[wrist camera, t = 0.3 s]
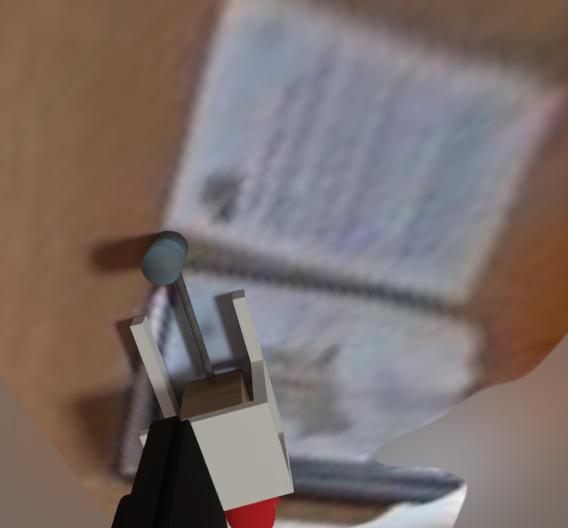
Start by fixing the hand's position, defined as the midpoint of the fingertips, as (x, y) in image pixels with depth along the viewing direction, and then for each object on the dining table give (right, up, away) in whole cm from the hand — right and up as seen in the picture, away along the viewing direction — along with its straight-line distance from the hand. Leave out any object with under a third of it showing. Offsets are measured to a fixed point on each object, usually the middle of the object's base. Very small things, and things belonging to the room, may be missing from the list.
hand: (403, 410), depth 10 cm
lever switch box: (-10, -8, +38) cm, 40 cm away
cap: (-7, -22, +43) cm, 49 cm away
